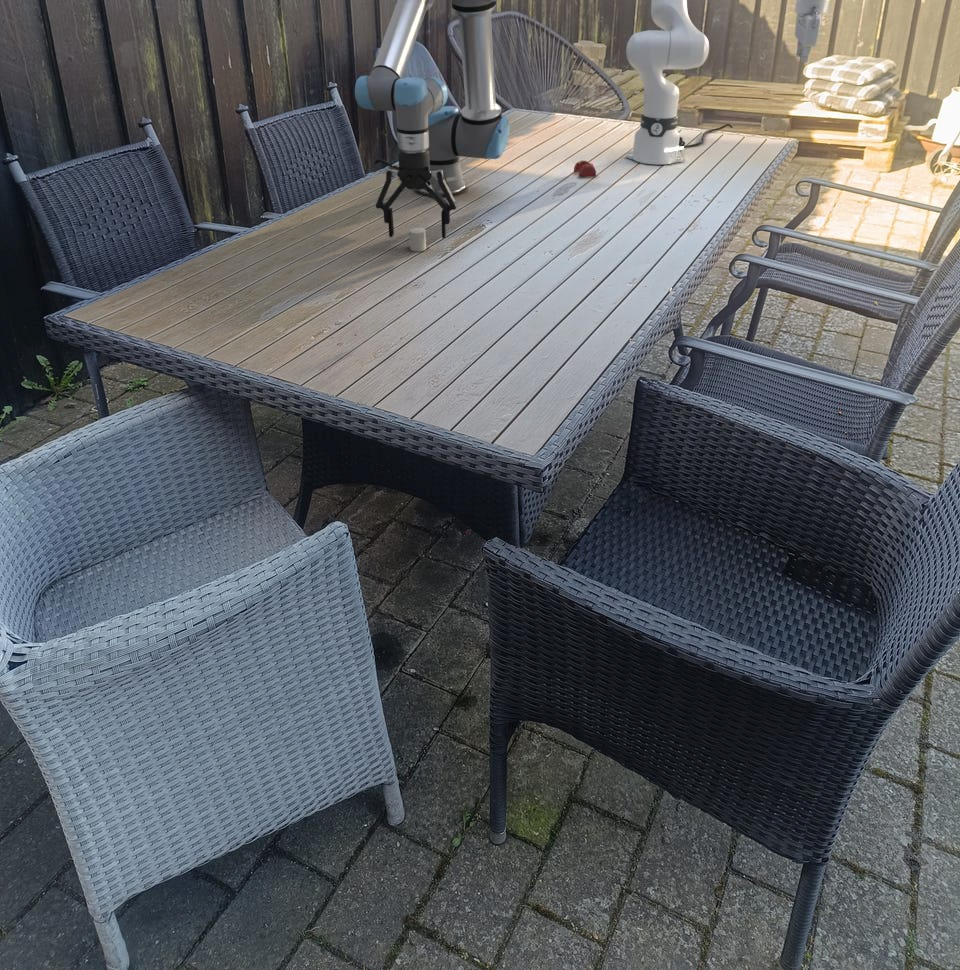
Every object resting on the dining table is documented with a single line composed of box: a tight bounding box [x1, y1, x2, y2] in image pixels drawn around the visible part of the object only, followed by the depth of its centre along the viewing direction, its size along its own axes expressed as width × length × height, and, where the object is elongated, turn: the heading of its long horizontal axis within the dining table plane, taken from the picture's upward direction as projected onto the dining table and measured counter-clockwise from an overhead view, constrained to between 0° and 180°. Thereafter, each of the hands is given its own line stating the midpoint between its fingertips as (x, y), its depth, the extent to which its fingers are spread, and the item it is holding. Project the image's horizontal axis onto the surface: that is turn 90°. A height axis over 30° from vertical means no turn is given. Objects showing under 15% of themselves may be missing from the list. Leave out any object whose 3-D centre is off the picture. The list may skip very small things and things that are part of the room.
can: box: [408, 227, 427, 252], centre depth 216 cm, size 4×4×5 cm
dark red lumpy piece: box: [573, 160, 597, 178], centre depth 270 cm, size 6×4×8 cm
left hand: (417, 235), depth 215 cm, fingers open, 13 cm apart
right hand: (801, 59), depth 248 cm, fingers open, 8 cm apart
